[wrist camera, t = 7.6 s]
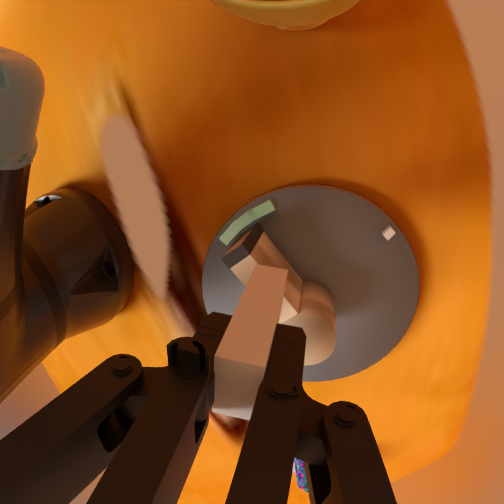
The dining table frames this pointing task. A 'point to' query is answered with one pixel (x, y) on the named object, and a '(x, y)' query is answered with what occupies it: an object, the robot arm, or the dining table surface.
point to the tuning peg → (288, 292)
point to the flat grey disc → (329, 268)
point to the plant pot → (287, 11)
